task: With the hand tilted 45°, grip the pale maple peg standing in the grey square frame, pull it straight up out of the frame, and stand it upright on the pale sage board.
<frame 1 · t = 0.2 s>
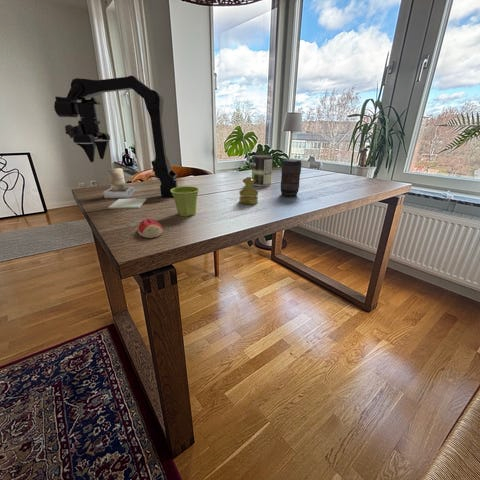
hand: (97, 160, 105), 15 cm above the table, tool pointing down, fingers open, 9 cm apart
plant pot: (186, 214, 91), on the table
dark brown cylinder: (288, 195, 114), on the table
red and white dome: (151, 233, 75), on the table
sage board: (128, 204, 101), on the table
maple peg: (117, 182, 111), in the grey square frame
grey square frame: (120, 195, 113), on the table
olive yellow tied sack: (248, 202, 104), on the table
coffee can: (261, 184, 134), on the table
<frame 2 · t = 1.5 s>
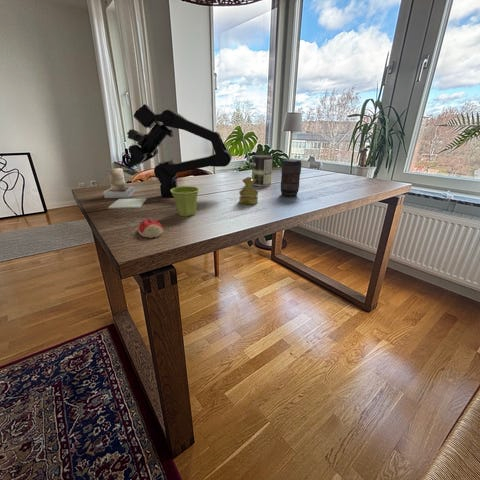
hand: (132, 165, 108), 12 cm above the table, tool tilted 45°, fingers open, 9 cm apart
nothing on the table moved.
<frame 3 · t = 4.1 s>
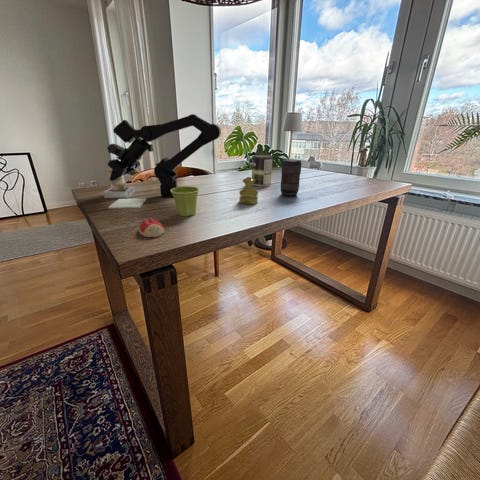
hand: (113, 178, 110), 7 cm above the table, tool tilted 45°, fingers closed on maple peg, 6 cm apart
maple peg: (117, 182, 111), in the grey square frame, touching gripper
everything else where it was.
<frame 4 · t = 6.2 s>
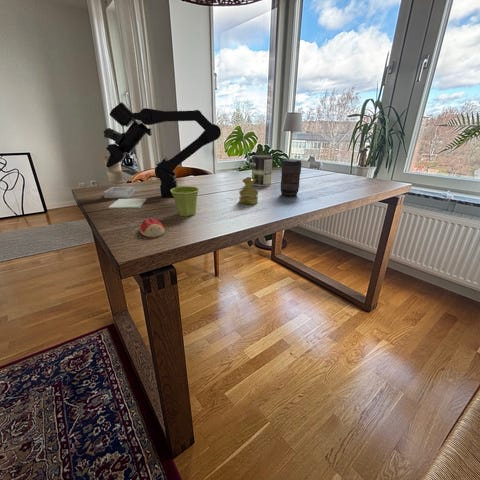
hand: (109, 165, 105), 13 cm above the table, tool tilted 45°, fingers closed on maple peg, 6 cm apart
maple peg: (114, 169, 105), point 11 cm above the table, touching gripper
everything else where it was.
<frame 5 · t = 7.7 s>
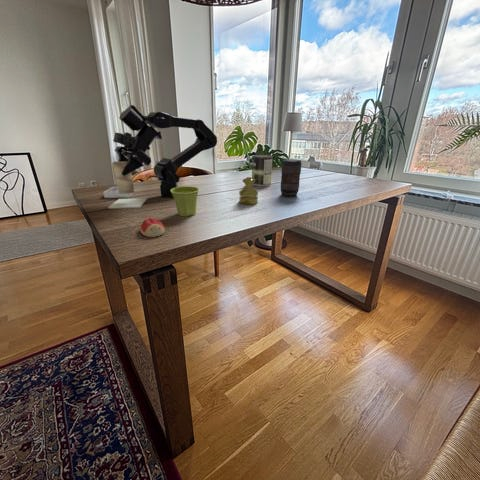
hand: (119, 173, 95), 12 cm above the table, tool tilted 45°, fingers closed on maple peg, 6 cm apart
maple peg: (124, 177, 96), point 10 cm above the table, touching gripper
everything else where it was.
when the fingers open (9 cm above the table, at t = 8.7 s): maple peg drops 1 cm, resting on sage board.
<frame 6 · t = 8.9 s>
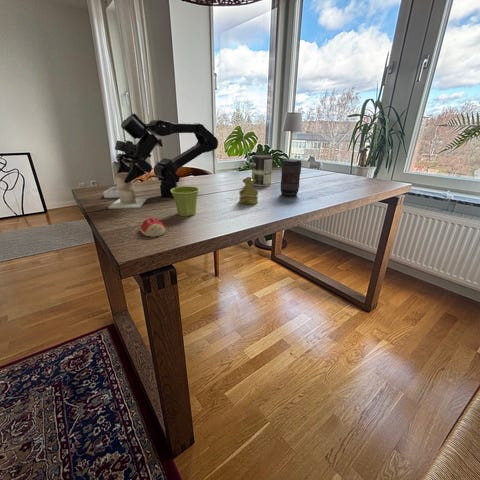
hand: (120, 181, 96), 9 cm above the table, tool tilted 45°, fingers open, 8 cm apart
maple peg: (125, 188, 98), on the sage board, point 6 cm above the table
everything else where it was.
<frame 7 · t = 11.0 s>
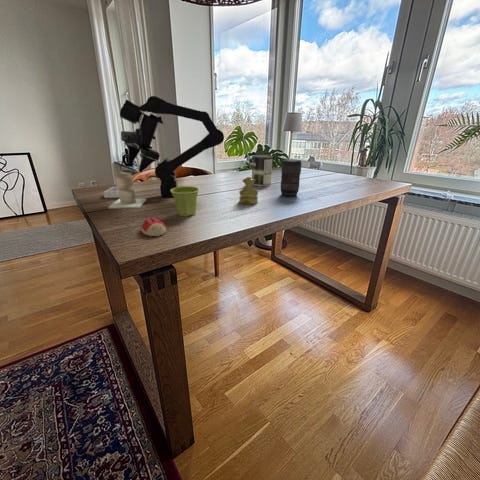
hand: (134, 167, 105), 12 cm above the table, tool tilted 25°, fingers open, 9 cm apart
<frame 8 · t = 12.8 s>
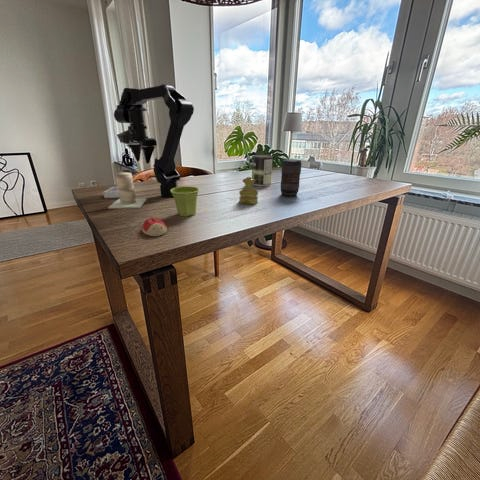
hand: (142, 162, 114), 13 cm above the table, tool pointing down, fingers open, 9 cm apart
at the end: maple peg inside the target area on the sage board (0.0 cm from its centre), point 6.1 cm above the sage board's base; maple peg tilted 0°; the gripper is holding nothing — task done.
